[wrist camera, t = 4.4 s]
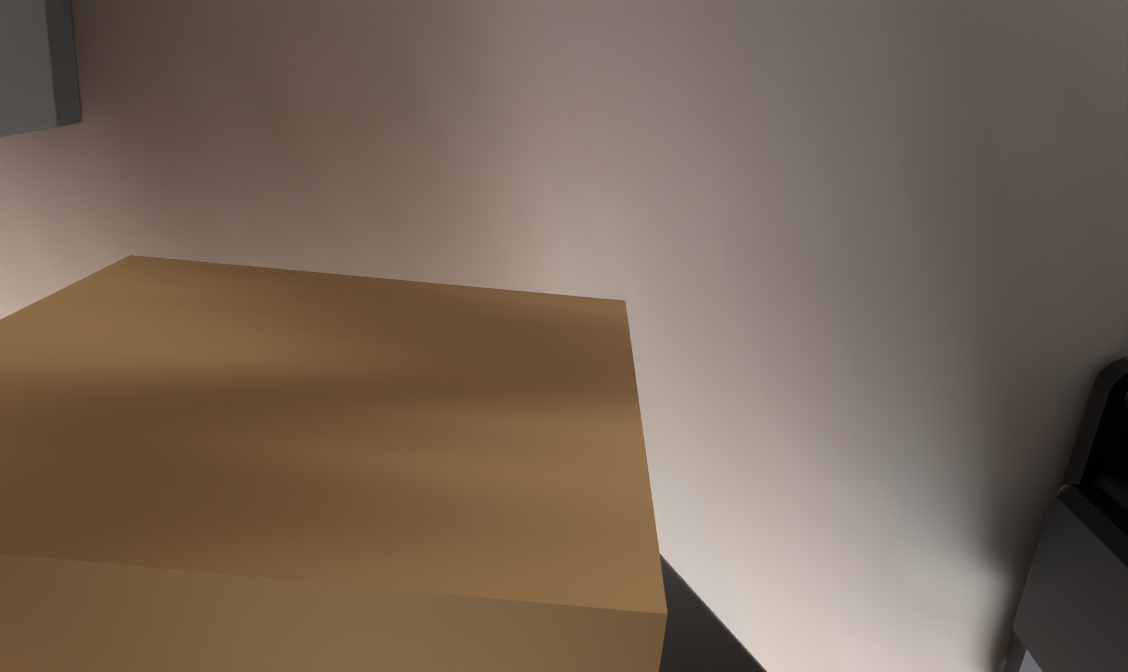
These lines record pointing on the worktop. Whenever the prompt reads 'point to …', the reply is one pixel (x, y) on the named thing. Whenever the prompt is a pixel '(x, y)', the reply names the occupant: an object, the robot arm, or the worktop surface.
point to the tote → (37, 66)
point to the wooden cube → (321, 478)
